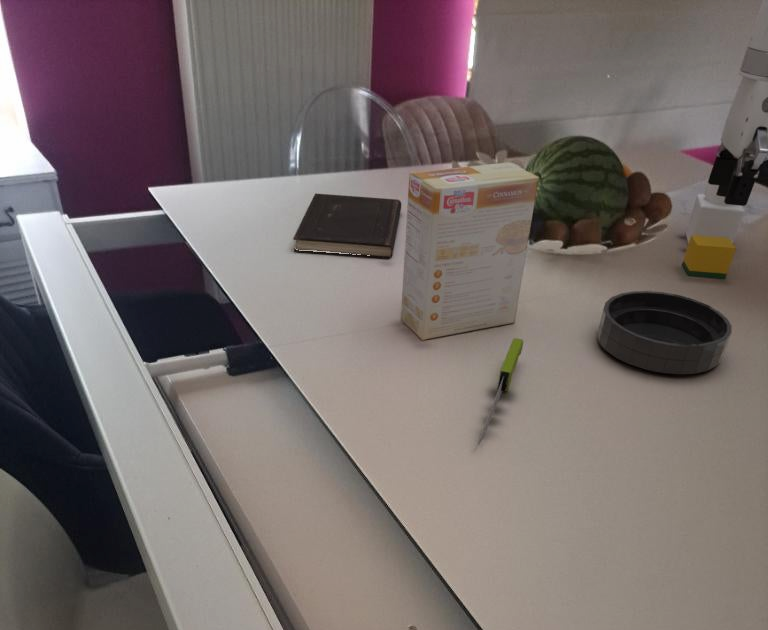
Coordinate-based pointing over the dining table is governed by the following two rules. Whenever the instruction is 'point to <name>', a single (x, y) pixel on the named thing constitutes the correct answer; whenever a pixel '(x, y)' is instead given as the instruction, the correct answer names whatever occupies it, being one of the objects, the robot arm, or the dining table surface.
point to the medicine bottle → (714, 214)
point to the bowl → (663, 332)
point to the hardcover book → (349, 226)
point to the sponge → (708, 256)
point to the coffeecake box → (465, 247)
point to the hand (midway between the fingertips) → (726, 194)
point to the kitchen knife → (504, 377)
